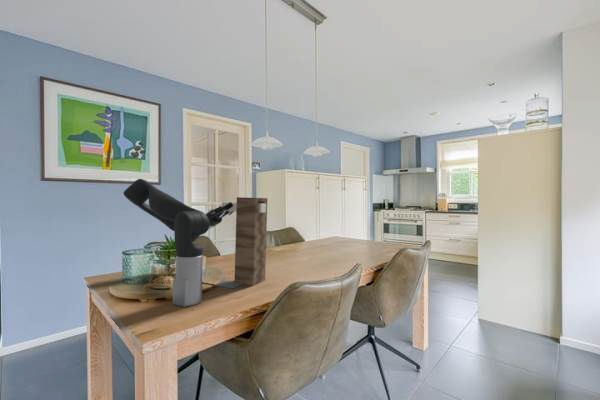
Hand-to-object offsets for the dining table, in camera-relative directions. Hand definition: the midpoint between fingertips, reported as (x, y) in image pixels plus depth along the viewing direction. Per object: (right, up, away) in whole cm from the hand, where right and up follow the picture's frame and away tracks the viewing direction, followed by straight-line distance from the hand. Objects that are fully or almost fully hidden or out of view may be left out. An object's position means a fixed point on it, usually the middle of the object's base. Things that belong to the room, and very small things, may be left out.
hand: (235, 204), depth 132 cm
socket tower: (+8, -36, -4) cm, 37 cm away
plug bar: (+4, -3, -2) cm, 6 cm away
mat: (-8, -35, -7) cm, 37 cm away
